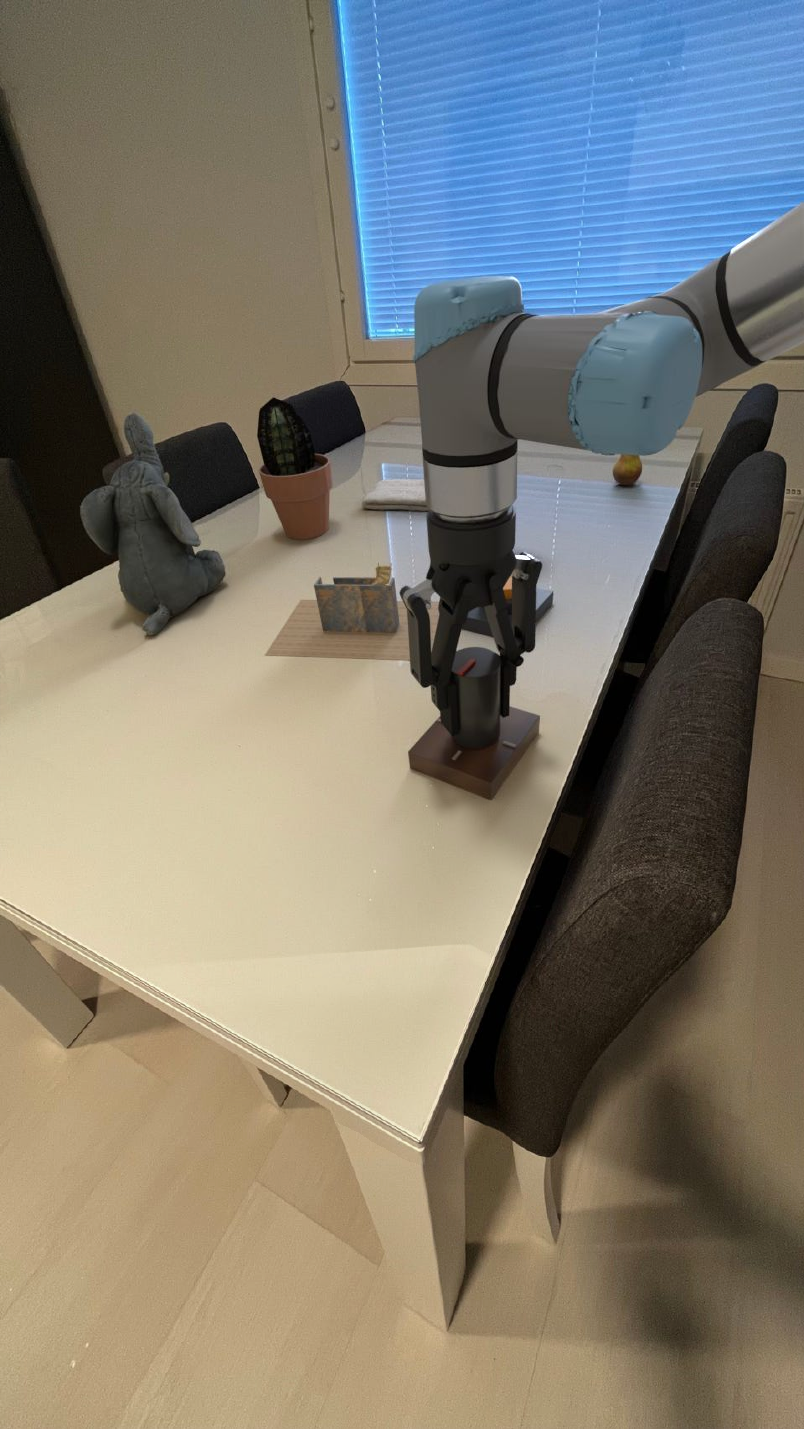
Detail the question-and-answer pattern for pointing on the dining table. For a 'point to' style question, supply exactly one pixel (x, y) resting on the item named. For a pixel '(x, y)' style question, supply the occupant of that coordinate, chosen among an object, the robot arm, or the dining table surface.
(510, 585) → the button
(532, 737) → the dimmer panel
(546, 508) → the dining table surface
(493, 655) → the dimmer knob
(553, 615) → the dining table surface
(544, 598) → the switch box
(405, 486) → the washcloth
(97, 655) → the dining table surface
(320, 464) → the potted plant
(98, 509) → the stuffed elephant
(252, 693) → the dining table surface
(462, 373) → the robot arm
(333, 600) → the architectural model on board
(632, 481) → the fruit
